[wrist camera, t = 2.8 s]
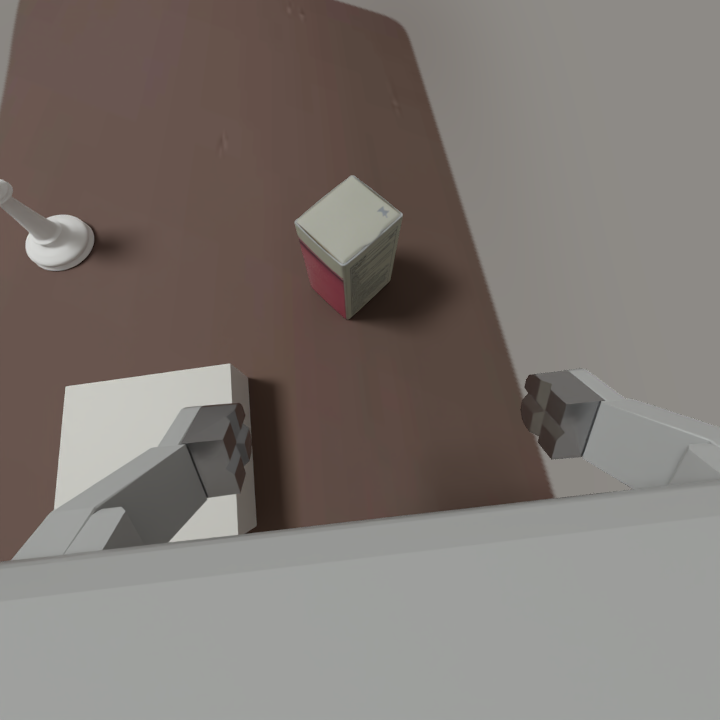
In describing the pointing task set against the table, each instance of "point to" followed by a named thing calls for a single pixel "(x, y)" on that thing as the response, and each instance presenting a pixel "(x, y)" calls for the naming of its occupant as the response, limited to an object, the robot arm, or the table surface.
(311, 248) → the small box
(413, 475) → the table surface
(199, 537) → the off-white block
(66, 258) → the chess piece
